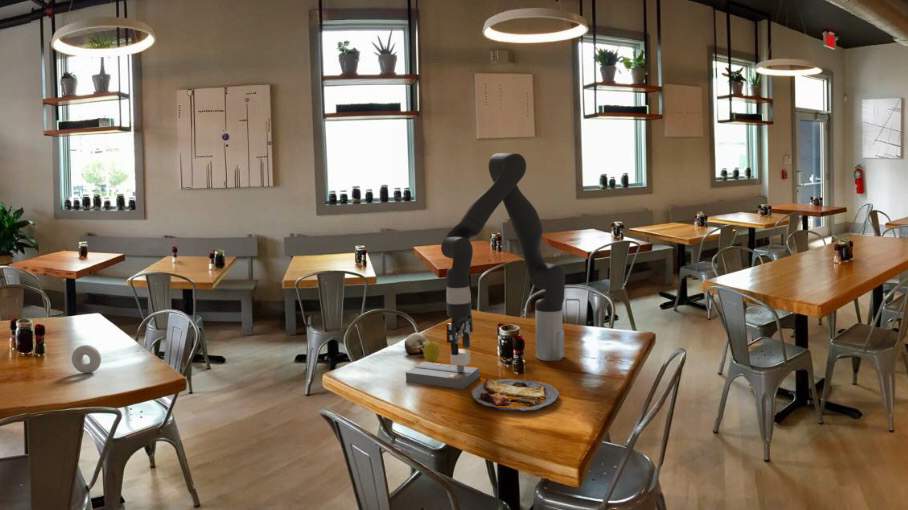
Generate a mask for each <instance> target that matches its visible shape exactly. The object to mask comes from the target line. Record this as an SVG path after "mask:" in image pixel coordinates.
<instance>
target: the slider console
mask: <svg viewBox="0 0 908 510" xmlns="http://www.w3.org/2000/svg"><path fill="white" fill-rule="evenodd" d="M479 373H480V370H479V367H475V366H474V367H472V366H464V371H463V372H458V371H457V365H453V364H446V363H439V362H433V363H431V362H429V361H422V362H420V363H419V364H417V365H416V366H414V367H412V368H410V369H408V370H407V371H406V372H405V382H407V383H413V384H422V385H429V386H437V387H443V386H445V387H446V388H451V387H453V389H458V388H459V389H460V390H464V389H466V388H467V387H468V386H470V385H471V384H472V383H474V382H475V381H476V380H477V379H478V378H479V377H480V374H479ZM445 387H444V388H445Z"/></svg>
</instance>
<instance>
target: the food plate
mask: <svg viewBox="0 0 908 510" xmlns="http://www.w3.org/2000/svg"><path fill="white" fill-rule="evenodd" d="M469 394H470V396H471V398H472V400H473V401H475V402H476V403H478V404H481V405H482V406H487V407H493V408H495V409H498V410H501V411H503V412H505V411H517V410H518V411H534V410H535V411H536V410H539V409H541V408H543V407H545V406H548V405H551V404H552V403H553V402H555V401H556V400H557V399H558V397H559V395H560V392H559V391H558V390H557V389H556V388H555V387H554V386H552V385H550V384H548V383H544V382H540V381H538V380H535V379H529V378H528V379H526V378H500V379H495V380H494V379H493V378H491V377H490V378H486V379H485V381H484V382H483V383H479V384H478V385H476V386H475V387H473V388H471V390H470V393H469ZM507 396H513V397H514V398H513V399H510V400H509V399H508V397H507ZM536 398H537V399H536ZM540 398H544V401H543V400H542V401H543V402H541V403H540V401H541V399H540ZM511 402H518V403H523V404H529V405H528V406H530V407H522V408H519V407H515V408H513V407H511V408H507V407H498V406H509V405H510V404H511ZM538 403H539V404H538ZM516 404H517V403H516ZM535 404H538V405H535ZM531 405H534V406H531Z"/></svg>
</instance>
